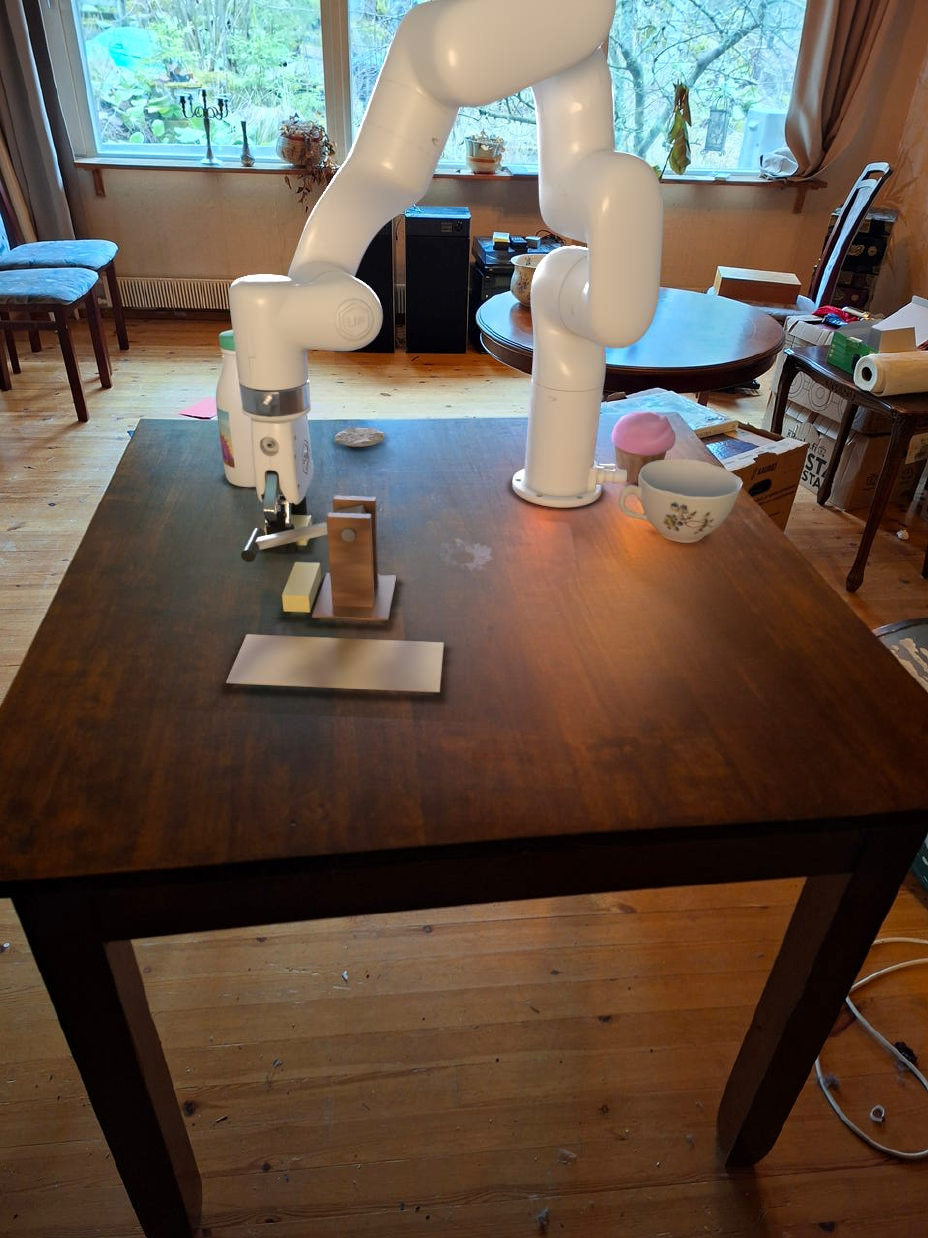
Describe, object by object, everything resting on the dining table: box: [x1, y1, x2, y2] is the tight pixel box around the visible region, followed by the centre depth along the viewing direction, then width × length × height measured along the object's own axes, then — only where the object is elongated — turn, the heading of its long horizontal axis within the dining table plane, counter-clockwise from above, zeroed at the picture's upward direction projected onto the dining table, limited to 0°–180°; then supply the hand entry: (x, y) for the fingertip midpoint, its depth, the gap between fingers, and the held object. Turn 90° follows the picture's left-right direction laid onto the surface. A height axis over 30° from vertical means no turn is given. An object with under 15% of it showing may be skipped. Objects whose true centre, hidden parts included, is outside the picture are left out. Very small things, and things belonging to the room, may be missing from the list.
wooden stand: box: [311, 494, 398, 622], centre depth 88 cm, size 8×9×12 cm
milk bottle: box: [215, 329, 256, 488], centre depth 112 cm, size 8×8×20 cm
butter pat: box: [263, 515, 313, 546], centre depth 101 cm, size 5×4×3 cm
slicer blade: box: [240, 505, 366, 563], centre depth 86 cm, size 13×5×2 cm, turn 88°
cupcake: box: [610, 410, 676, 484], centre depth 119 cm, size 9×9×10 cm
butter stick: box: [281, 561, 322, 613], centre depth 90 cm, size 3×7×3 cm, turn 178°
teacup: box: [618, 457, 744, 544], centre depth 105 cm, size 15×12×8 cm
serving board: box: [225, 633, 445, 693], centre depth 81 cm, size 20×8×1 cm, turn 88°
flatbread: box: [334, 427, 386, 448], centre depth 130 cm, size 8×8×1 cm
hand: (289, 538), depth 102 cm, fingers open, 6 cm apart
